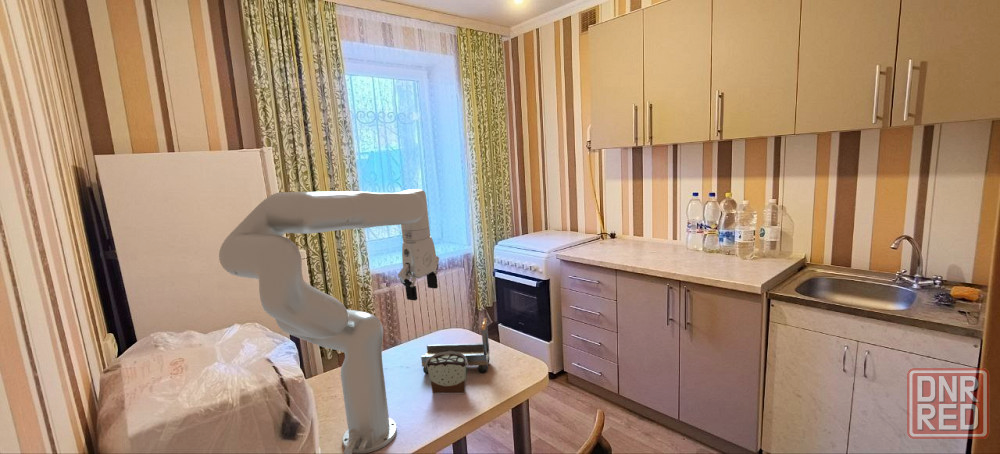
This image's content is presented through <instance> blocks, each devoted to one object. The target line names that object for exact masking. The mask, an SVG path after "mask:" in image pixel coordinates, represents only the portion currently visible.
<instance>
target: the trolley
mask: <svg viewBox="0 0 1000 454" xmlns="http://www.w3.org/2000/svg"><path fill="white" fill-rule="evenodd" d="M480 330H481V338H482V339H481V340H482V343H449V344H445V343H444V344H443V343H441V344H440V343H439V344H427V345H426V350H427V351H426V353H425V355H423V354H422V355H421V356H420V358H421V367H423V368H422V370H423V373H424V374H426V375H429V374H428V369H427V366H426V368H425V363H426V360H427V359H428V358H429V357H431V356H433V355H435V354H438V353H441V352H450V351H451V352H459V353H461V354H463V355H464V356H465V357H466V359H467V361H468V365H469V366H477V370H478V372H479V373H480V374H485V373H487V372H488V369H489V365H488V364H489V363H490V359H491V358H490V352H491V351H490V342H489V331H488V330H489V328H488V318H486V317H484V318H483V320H482V323H481V327H480ZM469 366H468V367H469ZM466 367H467V363H466Z"/></svg>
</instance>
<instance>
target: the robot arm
mask: <svg viewBox="0 0 1000 454" xmlns="http://www.w3.org/2000/svg"><path fill="white" fill-rule="evenodd" d="M429 219H430V218H429V212H428V201H427V194H426V192H425V190H423V189H421V188H420V189H419V188H415V189H413V188H412V189H406V190H405V189H404V190H402V191H399V192H371V191H370V192H369V191H353V190H349V191H348V190H347V191H341V190H339V191H291V192H290V191H289V192H286V191H285V192H275V193H273V194H270V195H269V196H268V197H266V198H265V199H264V200H263V201H261V202H260V203H259V204H258V205H257V206H256V207H255V208H254V209H253V210H252V211H251V212H250V213H248V215H246V217H245V218H244V219H243V220H242V221H241V222H240V223H239V224H237V226H236V227H235V228H234V229H233V230H232V231H231V232H230V233H229V234H228V235H227V237H226V238H225V239H224V241H223V242H222V243H221V246H220V247H219V248H220V249H219V251H218V252H219V254H218V260H219V263H220V266H221V267H222V268H223V269H224V270H225V271H226V272H227V273H229V274H230V275H233V276H236V277H241V278H248V279H255V280H258V285H259V286H258V291H259V293H258V294H259V298H260V303H261V306H262V308H263V310H264V311H265V313H266V314H268V315H269V316H270V317H271V318H273V319H275V322H276V324H277V326H278V327H279V328H280V329H281V330H282V331H283V332H285V333H286V334H288V335H290V336H292V337H296V338H298V339H300V340H303V341H305V342H309V343H311V344H313V345H317V346H319V347H322V348H327V349H330V350H335V351H339V352H342V353H343V354H344V359H343V363H342V365H341V367H340V381H341V386H342V395H343V401H344V409H345V416H346V423H347V429H346V430H345V432H344V434H343V436H342V445H343V447H344V451H343V454H367V453H368V454H369V453H372V452H376V451H378V450H381V449H382V448H383V447H385V446H388V445H389V444H390V443H391V442H392V441H393V440H394V438H395V436H396V435H397V432H398V430H397V429H398V428H397V427H398V426H397V424H396V422H395V420H394V419H393V418H391V417H390V416H389V415H390V414H389V407H388V399H387V391H386V384H385V383H386V382H385V375H384V373H385V372H384V365H383V364H384V363H383V351H382V350H383V340H384V338H383V337H384V326H383V323H382V322H381V320H380V319H379V317H377V316H376V315H374V314H372V313H369V312H366V311H362V310H361V311H360V310H356V309H347V308H346V306H345V304H344V303H343V302H342V301H340V300H339V299H338V298H336V297H334V296H332V295H330V294H328V293H325V292H324V291H322V290H320V289H318V288H316V287H314V286H312V285H311V284H310V283H308V282H307V281H305V280H304V277H303V270H302V268H303V267H302V266H303V265H302V261H303V260H302V256H301V255H302V254H301V252H300V249H299V247H298V245H296V243H295V242H294V241H292V240H291V239H289V238H288V237H285V236H284V235H285V234H287V233H288V234H306V235H307V234H318V233H327V232H335V231H346V230H355V229H368V228H375V227H386V226H398V225H399V226H400V227H401V238H402V249H401V252H402V253H401V254H402V257H401V259H402V268H401V269H400V271H399V272H398V274H397V277H398V279H399V281H400V284H402V285H403V287H405V295H406V300H407V301H417V300H418V293H417V286H416V285H415V284H416V281H417V279H421V278H423V277H425V276H426V284H427V288H429V289H434V290H435V289H438V287H439V284H438V269H439V263H440V257H439V256H437V254H436V253H437V252H436V247H435V243H434V240H433V237H432V236H431V230H430V222H429V221H430V220H429ZM410 279H411V280H410Z"/></svg>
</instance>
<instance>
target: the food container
mask: <svg viewBox="0 0 1000 454" xmlns="http://www.w3.org/2000/svg"><path fill="white" fill-rule="evenodd" d="M466 363H467V366H466ZM426 366H427V369H428V374H427V375H428V377H429V383H430V388H431V391H432V395H434V394H435V395H437V394H438V395H441V394H442V395H449V394H452V395H454V394H455V395H459V394H460V395H462V394H463V395H465V394H466V391H467V390H466V385H467V383H466V381H467V368H469V365H468V361H467V359H466V357H465V356H464V355H463V354H461V353H459V352H451V351H450V352H441V353H438V354H435V355H433V356H431V357H429V358H428V359H427V360H426V363H425V368H426Z"/></svg>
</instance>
